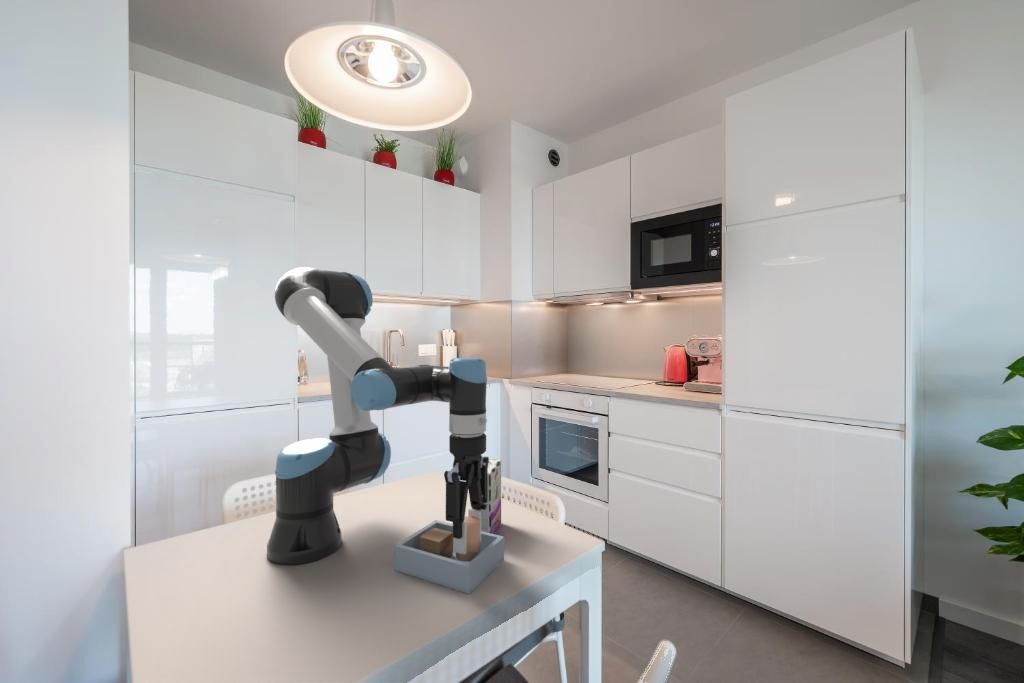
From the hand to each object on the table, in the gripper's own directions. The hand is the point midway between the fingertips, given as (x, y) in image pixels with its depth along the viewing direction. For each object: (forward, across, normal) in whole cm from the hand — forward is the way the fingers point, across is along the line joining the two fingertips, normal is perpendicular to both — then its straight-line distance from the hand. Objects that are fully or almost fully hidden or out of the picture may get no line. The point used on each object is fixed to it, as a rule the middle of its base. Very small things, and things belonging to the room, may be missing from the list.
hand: (467, 546), depth 90 cm
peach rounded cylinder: (+2, 0, 0) cm, 2 cm away
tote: (+5, 0, +4) cm, 6 cm away
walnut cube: (+4, 0, +8) cm, 9 cm away
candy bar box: (+5, +17, +5) cm, 18 cm away
